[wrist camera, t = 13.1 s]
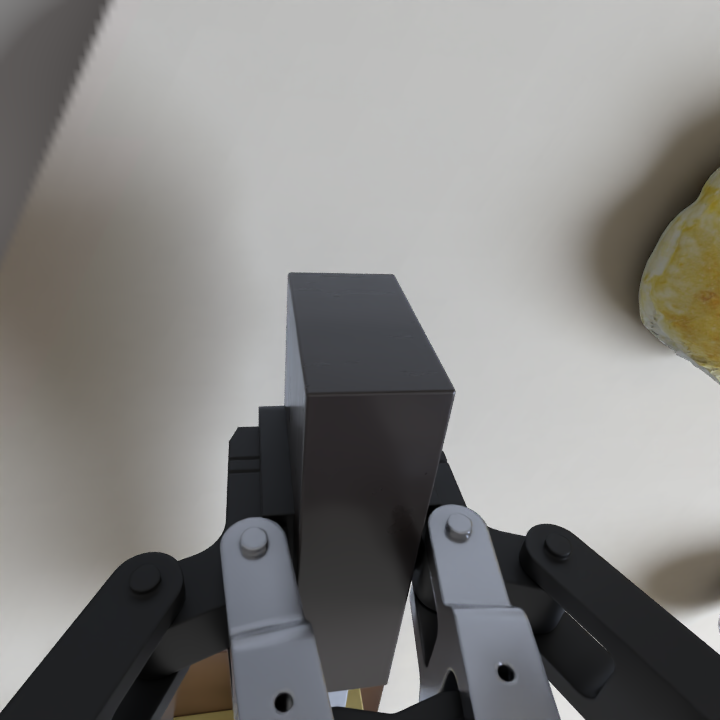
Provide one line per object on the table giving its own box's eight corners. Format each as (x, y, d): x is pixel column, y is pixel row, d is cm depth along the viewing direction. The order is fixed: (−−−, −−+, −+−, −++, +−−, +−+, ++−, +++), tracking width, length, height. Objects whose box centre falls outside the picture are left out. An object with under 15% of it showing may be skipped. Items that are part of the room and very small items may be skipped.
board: (138, 786, 34) (135, 806, 33) (96, 645, 25) (91, 667, 24) (360, 752, 36) (363, 769, 36) (393, 613, 28) (397, 632, 27)
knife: (287, 271, 12) (305, 394, 8) (394, 273, 12) (457, 390, 9) (276, 707, 22) (281, 849, 18) (334, 699, 23) (351, 836, 19)
